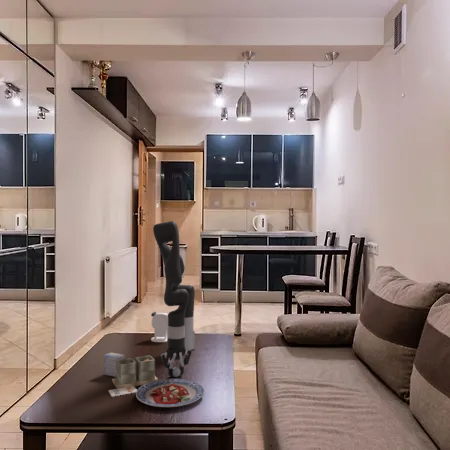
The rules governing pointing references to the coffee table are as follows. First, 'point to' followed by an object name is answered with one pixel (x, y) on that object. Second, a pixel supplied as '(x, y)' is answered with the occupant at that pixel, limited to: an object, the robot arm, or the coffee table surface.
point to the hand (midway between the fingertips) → (175, 375)
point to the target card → (122, 391)
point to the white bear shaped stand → (159, 327)
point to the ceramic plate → (170, 392)
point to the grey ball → (176, 371)
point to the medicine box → (111, 363)
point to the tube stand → (134, 372)
